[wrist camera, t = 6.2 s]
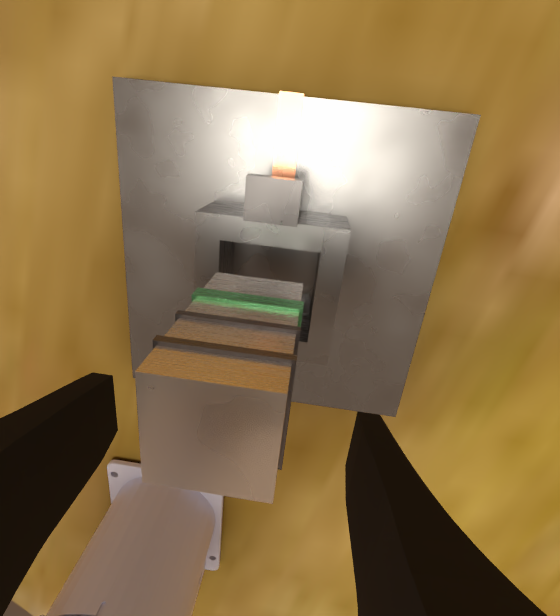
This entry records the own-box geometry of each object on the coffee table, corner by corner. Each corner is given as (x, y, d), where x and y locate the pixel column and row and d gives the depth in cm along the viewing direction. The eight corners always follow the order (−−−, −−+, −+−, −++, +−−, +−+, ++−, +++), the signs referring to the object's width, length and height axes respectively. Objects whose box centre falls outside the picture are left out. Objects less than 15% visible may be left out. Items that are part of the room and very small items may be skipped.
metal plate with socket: (392, 405, 22) (408, 467, 18) (140, 368, 23) (99, 419, 19) (472, 113, 16) (525, 103, 12) (123, 77, 17) (56, 56, 13)
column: (295, 361, 14) (276, 507, 9) (211, 349, 14) (138, 484, 9) (306, 281, 13) (292, 390, 7) (214, 269, 13) (129, 366, 7)
